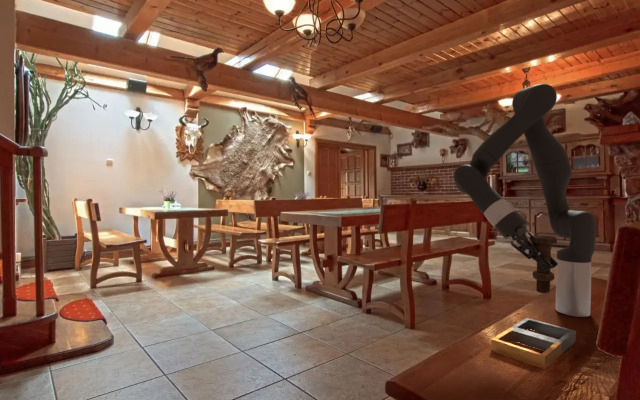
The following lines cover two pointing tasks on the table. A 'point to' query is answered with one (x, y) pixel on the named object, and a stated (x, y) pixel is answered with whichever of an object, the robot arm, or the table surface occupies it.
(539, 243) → the bolt
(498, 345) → the tray
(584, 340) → the table surface
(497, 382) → the table surface
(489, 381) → the table surface
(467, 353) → the table surface
